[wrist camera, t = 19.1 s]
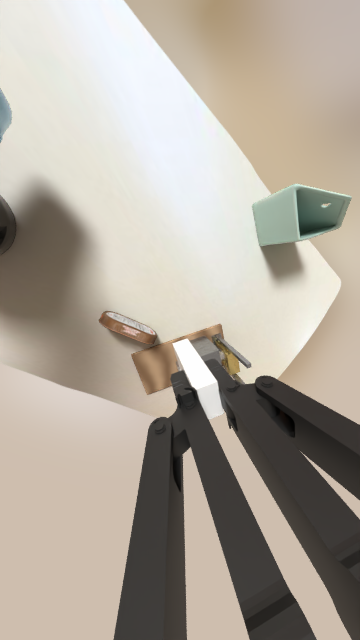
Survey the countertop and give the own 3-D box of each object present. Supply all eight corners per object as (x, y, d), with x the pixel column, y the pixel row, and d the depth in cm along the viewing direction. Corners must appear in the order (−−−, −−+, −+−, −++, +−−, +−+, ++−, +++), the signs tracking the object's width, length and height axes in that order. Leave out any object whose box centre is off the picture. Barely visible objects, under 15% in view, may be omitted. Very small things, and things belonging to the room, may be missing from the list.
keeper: (217, 359, 58) (230, 375, 50) (213, 341, 56) (226, 355, 48) (225, 356, 59) (239, 371, 50) (222, 338, 56) (236, 351, 48)
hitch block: (183, 376, 58) (203, 421, 42) (174, 345, 54) (192, 382, 38) (225, 361, 60) (258, 398, 44) (219, 330, 56) (254, 358, 40)
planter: (238, 231, 49) (299, 213, 31) (253, 203, 48) (325, 166, 30) (278, 259, 55) (350, 257, 37) (292, 234, 53) (374, 219, 35)
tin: (101, 316, 47) (94, 326, 40) (106, 306, 47) (100, 314, 39) (152, 336, 53) (155, 349, 45) (156, 327, 52) (160, 339, 44)
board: (146, 392, 58) (147, 394, 57) (131, 354, 53) (131, 356, 52) (226, 362, 62) (228, 363, 61) (219, 323, 57) (221, 325, 56)
